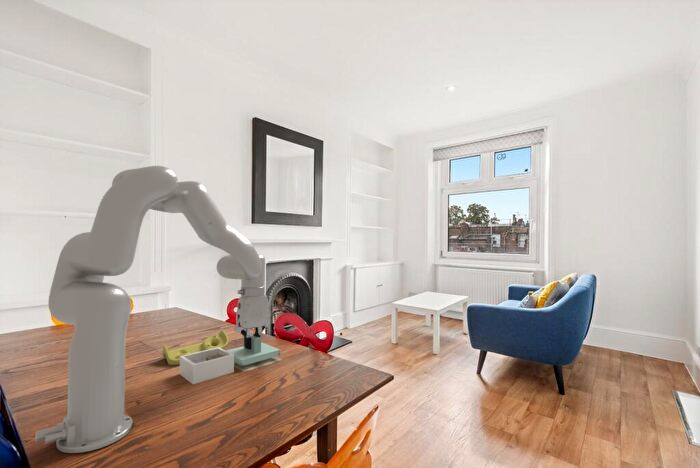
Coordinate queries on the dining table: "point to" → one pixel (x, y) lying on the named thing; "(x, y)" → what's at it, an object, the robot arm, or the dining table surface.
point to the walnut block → (213, 357)
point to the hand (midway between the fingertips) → (252, 347)
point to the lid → (253, 352)
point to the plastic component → (195, 348)
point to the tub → (206, 365)
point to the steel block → (198, 360)
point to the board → (256, 364)
